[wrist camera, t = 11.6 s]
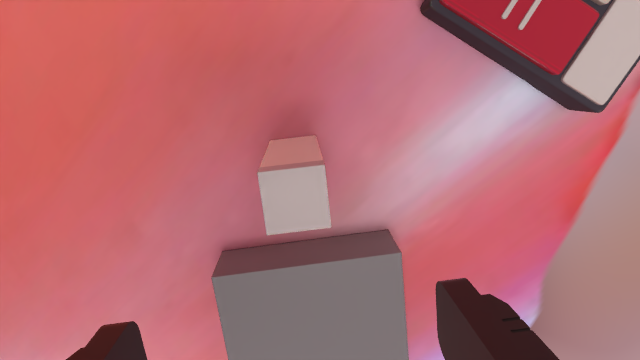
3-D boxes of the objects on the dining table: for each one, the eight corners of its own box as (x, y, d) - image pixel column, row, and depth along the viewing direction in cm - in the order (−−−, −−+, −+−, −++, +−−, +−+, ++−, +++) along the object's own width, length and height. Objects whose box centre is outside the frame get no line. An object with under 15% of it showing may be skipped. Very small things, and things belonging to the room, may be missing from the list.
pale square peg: (276, 184, 32) (266, 235, 22) (269, 140, 32) (257, 172, 21) (320, 179, 33) (331, 227, 22) (315, 135, 32) (324, 164, 21)
